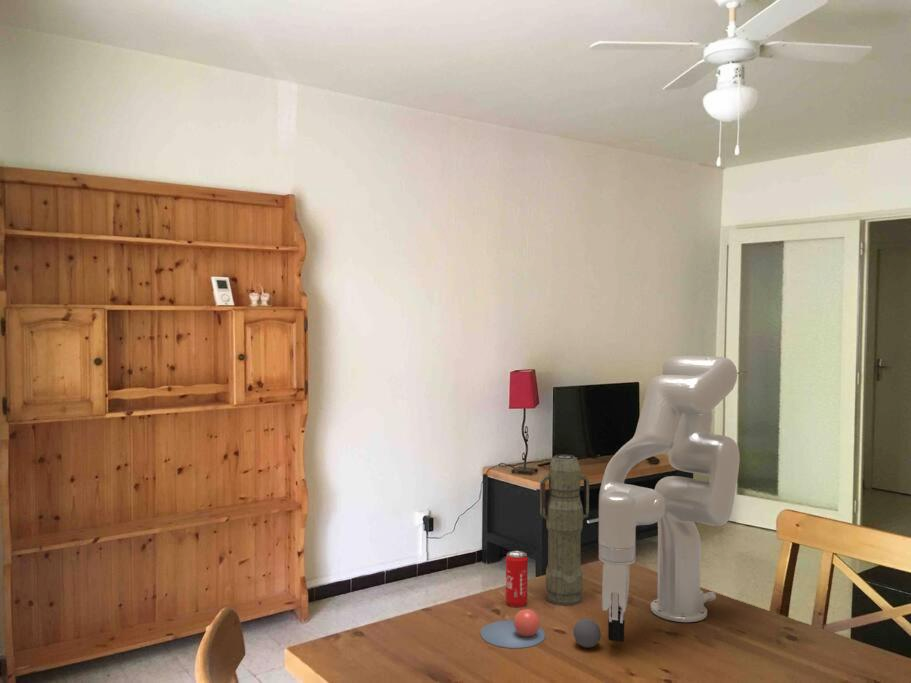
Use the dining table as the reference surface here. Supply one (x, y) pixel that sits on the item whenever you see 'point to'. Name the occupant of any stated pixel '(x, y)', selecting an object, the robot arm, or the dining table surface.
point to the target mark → (509, 635)
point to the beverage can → (516, 578)
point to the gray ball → (587, 633)
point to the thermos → (564, 529)
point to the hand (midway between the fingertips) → (616, 639)
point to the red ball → (526, 623)
